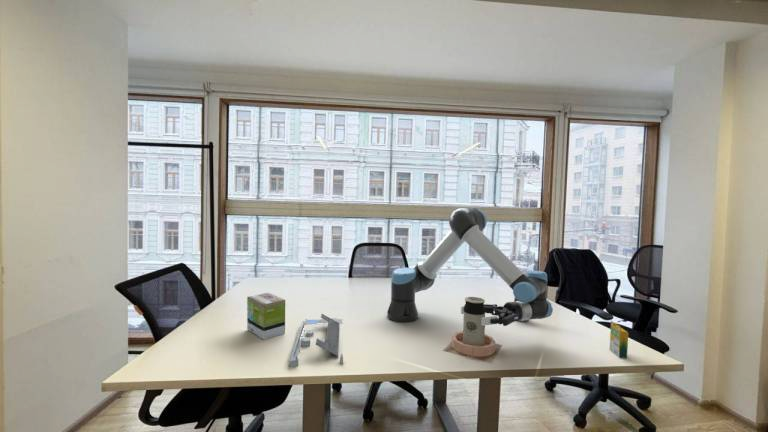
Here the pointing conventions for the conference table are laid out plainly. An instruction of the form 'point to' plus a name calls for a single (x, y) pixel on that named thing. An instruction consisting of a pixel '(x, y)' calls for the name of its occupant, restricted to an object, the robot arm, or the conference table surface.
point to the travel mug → (473, 321)
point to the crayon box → (618, 340)
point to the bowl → (473, 350)
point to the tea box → (266, 315)
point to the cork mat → (487, 358)
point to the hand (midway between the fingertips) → (471, 315)
